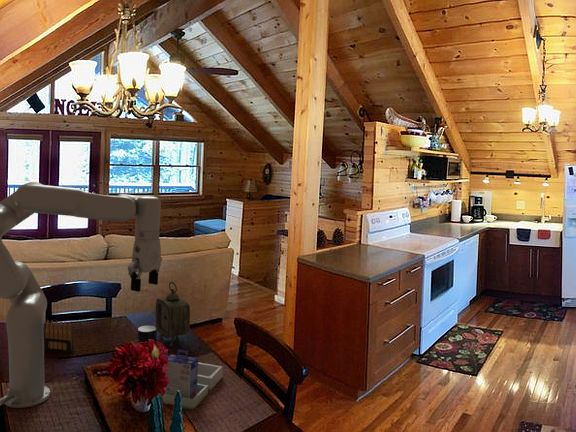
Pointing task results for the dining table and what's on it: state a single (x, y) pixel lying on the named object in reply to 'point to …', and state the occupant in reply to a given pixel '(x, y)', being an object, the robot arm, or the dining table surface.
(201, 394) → the parts tray
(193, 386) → the ink cartridge box
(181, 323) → the ring-top lantern
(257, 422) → the dining table surface
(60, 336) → the ammunition clip
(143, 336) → the ink bottle
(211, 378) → the tray
